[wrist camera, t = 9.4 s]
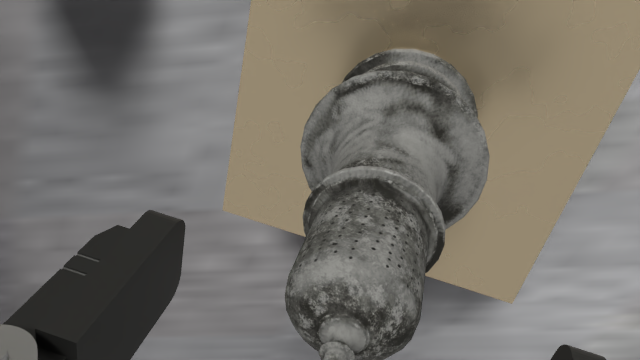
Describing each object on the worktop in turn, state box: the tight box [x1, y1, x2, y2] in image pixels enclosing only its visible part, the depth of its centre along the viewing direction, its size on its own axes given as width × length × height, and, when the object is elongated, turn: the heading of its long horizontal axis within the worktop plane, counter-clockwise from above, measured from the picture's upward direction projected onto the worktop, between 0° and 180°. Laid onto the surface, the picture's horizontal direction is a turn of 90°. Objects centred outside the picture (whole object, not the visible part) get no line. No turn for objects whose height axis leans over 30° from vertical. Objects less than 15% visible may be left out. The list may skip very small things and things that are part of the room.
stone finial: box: [285, 49, 490, 360], centre depth 15 cm, size 6×6×12 cm
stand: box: [223, 0, 640, 304], centre depth 24 cm, size 16×16×9 cm
